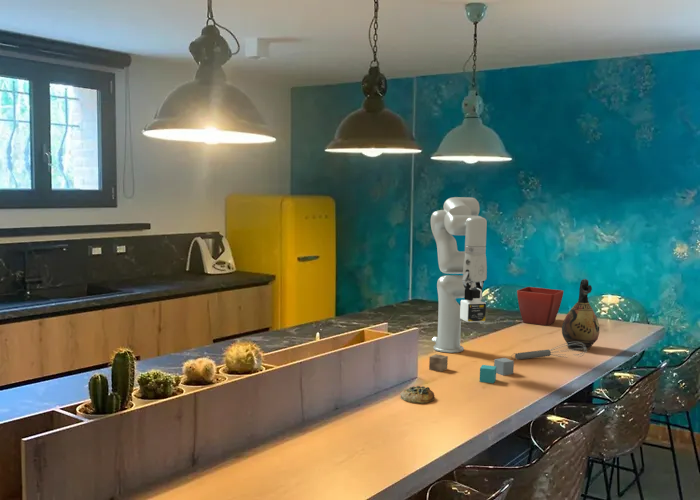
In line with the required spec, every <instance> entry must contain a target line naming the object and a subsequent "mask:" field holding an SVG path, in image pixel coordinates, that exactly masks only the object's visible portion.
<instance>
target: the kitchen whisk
mask: <svg viewBox="0 0 700 500" xmlns="http://www.w3.org/2000/svg"><path fill="white" fill-rule="evenodd" d="M569 343H570V342H569ZM579 343H580V342H579ZM574 344H576V343H574ZM581 344H583V343H581ZM569 345H571V344H569ZM566 346H568V345H567V342H565V343H564V344H560V345H558V346H556V347H552V349H541V350H533V351H532V350H531V351H524V352H518V353H517V352H516V353H515V352H514V353H513V355H514V357H515V359H514V358H513V357H512V356H513V355H511V356H510V357H511V359H512V360H513V361H515V360H518V361H519V360H526V359H534V358H545V357H550V356H555V357H562V356H565V354H561V353H558V350H557V349H561V348H563V347H566ZM580 346H581V345H580ZM583 346H584V345H583ZM577 349H579V350H580V351H582V352H581V355H580V353H579V354H576V353H575V354H574V356H579V355H580V356H579V358H580V357H582V356H584V355H585V354H586V353H588V350H585V349H586V348H585V347H584V350H581V349H580V348H577ZM554 350H556V351H554ZM579 350H578V351H579ZM568 351H571V352H573V351H576V350H573V349H569V348H568ZM561 352H562V353H565V352H567V350H565V349H564V350H561ZM568 357H569V356H565V358H568Z"/></svg>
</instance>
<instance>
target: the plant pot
mask: <svg viewBox="0 0 700 500" xmlns="http://www.w3.org/2000/svg"><path fill="white" fill-rule="evenodd" d="M564 291H565V290H562V289H553V288H552V289H551V288H544V287H532V286H527V287H523V288H521V289H518V290H516V293H517V295H516V296H517V302H518V308H519V313H520V316H521V319H522V322H523V323H525V324H534V325H540V326H549V325H551V324H553V323H555V321H556V319H557V315H558V313H559V310H560V308H561V305H562V304H561V303H562V300H563V296H564Z"/></svg>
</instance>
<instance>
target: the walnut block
mask: <svg viewBox="0 0 700 500" xmlns="http://www.w3.org/2000/svg"><path fill="white" fill-rule="evenodd" d="M448 358H449V356H447V355H442V354H433V355H430V356H429V363H428V364H429V365H428V367H429V368H428V369H429V370H430V371H435V372H440V373H441V372H444V371H446V370H448V360H449V359H448Z"/></svg>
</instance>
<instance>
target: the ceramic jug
mask: <svg viewBox="0 0 700 500" xmlns="http://www.w3.org/2000/svg"><path fill="white" fill-rule="evenodd" d="M592 290H593V287H592V285H591V284H590V285H589V280H588V279H586V278H584V279H581V281H580V283H579V294H578V301H577V302H576V303H575V304H574V305H573V306H572V307H571V309H570V310H569V311H568V313H567V314H566V315H565V317H564V320H563V322H562V326H561V335H562V337H563V340H565V343H566V345H568V346H567V349H568V350H569V349H572V350H575V351H578V352H579V351H580V352H581V351H589V350H590V348H591V347H592V345H594V344H595V343H596V342H597V340H598V339H599V335H600V325H599V319H598V317H597V314H596V313H595V311H594V309H593V307H592V306H591V304H590V302H589V298H588V295H589V294H590V293H592ZM569 342H570V343H569ZM579 342H580V343H579ZM574 343H576V344H574ZM581 343H583V344H581ZM569 344H571V345H569ZM580 345H581V346H580ZM583 345H584V346H583ZM584 347H585V348H586V349H585V350H584ZM577 348H580V349H581V350H579V349H577Z"/></svg>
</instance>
